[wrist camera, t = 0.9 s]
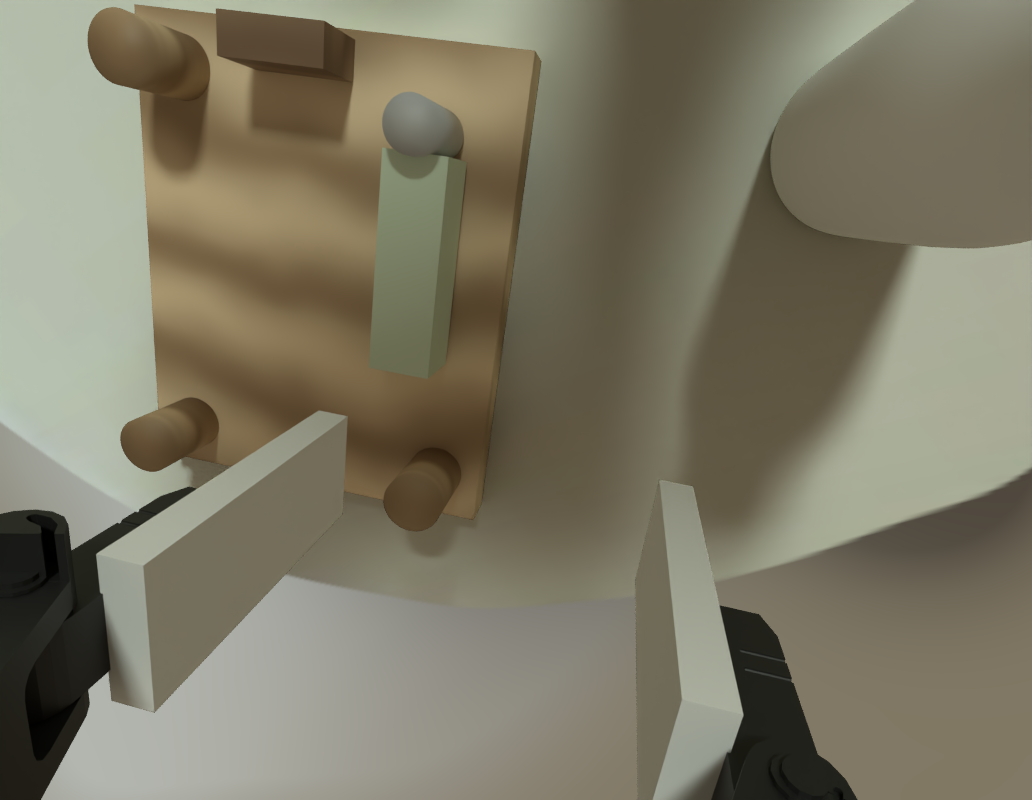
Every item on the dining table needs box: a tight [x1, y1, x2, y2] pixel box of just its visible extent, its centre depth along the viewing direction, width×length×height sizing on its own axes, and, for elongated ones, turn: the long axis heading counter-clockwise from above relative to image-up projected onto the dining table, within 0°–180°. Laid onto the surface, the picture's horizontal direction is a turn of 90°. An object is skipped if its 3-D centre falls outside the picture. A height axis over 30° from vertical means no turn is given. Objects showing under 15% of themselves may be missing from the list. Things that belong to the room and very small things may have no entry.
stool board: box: [88, 4, 541, 531], centre depth 31 cm, size 24×20×6 cm
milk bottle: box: [770, 0, 1032, 248], centre depth 18 cm, size 8×8×20 cm
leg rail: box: [369, 92, 467, 379], centre depth 28 cm, size 12×3×4 cm, turn 172°
